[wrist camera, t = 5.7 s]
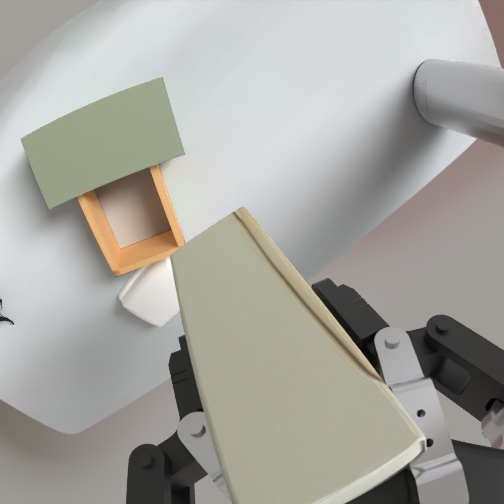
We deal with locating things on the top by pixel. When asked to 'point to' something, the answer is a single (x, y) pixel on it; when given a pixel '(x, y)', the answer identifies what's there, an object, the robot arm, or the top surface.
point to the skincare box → (282, 376)
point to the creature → (4, 317)
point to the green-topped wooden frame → (110, 163)
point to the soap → (151, 293)
